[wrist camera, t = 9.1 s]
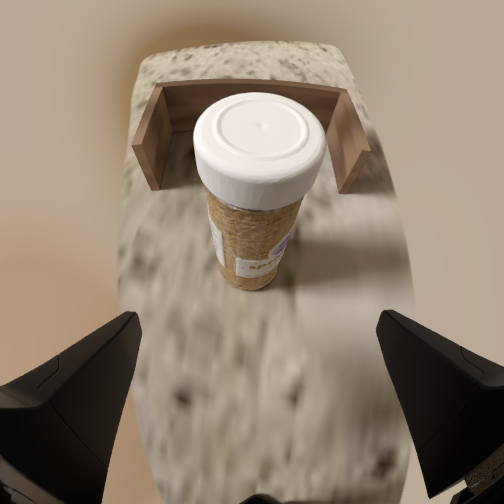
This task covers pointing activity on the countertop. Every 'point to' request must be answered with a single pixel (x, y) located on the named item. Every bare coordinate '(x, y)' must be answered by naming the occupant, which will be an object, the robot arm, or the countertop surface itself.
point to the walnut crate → (213, 90)
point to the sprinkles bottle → (255, 179)
